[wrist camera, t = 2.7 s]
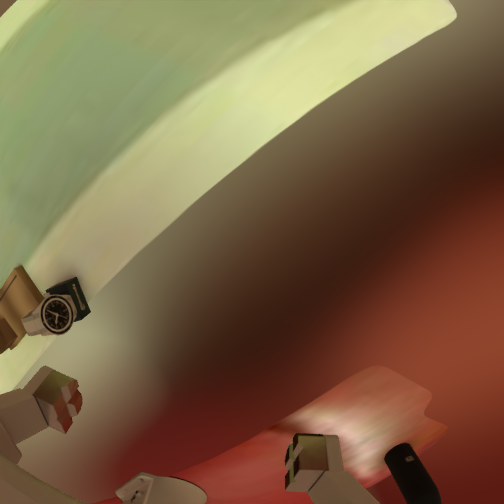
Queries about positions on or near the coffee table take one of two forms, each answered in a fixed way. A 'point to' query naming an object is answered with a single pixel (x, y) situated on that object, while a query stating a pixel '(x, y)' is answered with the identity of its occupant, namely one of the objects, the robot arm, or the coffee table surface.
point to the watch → (57, 310)
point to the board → (18, 301)
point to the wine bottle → (411, 476)
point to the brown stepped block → (6, 335)
